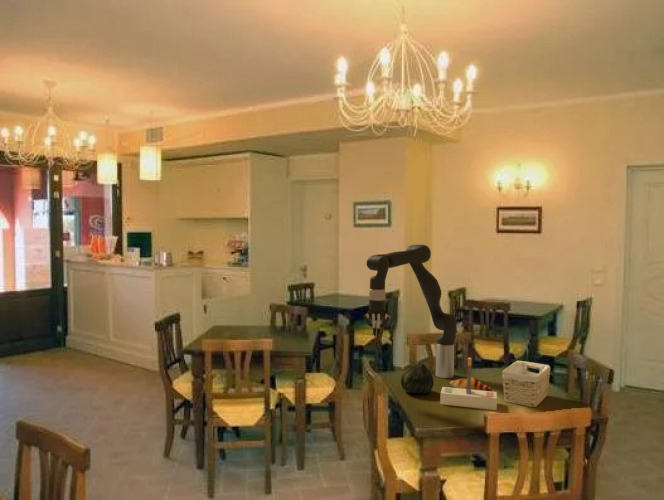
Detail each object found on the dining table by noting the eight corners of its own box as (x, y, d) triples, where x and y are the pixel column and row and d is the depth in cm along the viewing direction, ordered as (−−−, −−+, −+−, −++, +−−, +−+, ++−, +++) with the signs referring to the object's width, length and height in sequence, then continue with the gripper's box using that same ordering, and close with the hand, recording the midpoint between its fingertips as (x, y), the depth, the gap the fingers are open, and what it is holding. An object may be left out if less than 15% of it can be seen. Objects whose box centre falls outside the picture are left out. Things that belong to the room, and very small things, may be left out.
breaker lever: (467, 389, 245) (468, 357, 245) (470, 389, 245) (471, 357, 244) (466, 391, 243) (467, 358, 242) (470, 391, 242) (471, 359, 242)
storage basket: (536, 409, 238) (537, 376, 237) (499, 402, 247) (500, 369, 247) (550, 395, 257) (551, 365, 257) (516, 389, 267) (517, 359, 266)
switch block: (443, 391, 262) (444, 376, 261) (496, 396, 255) (496, 381, 254) (440, 404, 243) (440, 388, 242) (496, 410, 236) (496, 394, 236)
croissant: (447, 394, 268) (444, 382, 265) (455, 380, 275) (452, 368, 272) (489, 402, 256) (486, 389, 252) (496, 388, 263) (493, 375, 259)
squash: (395, 376, 267) (404, 358, 257) (423, 375, 271) (433, 358, 261) (402, 402, 257) (411, 384, 247) (431, 401, 261) (442, 384, 251)
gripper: (393, 298, 253) (392, 335, 254) (364, 296, 257) (364, 333, 258) (390, 300, 246) (389, 338, 247) (361, 299, 250) (360, 336, 251)
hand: (376, 335), depth 253 cm, fingers closed
